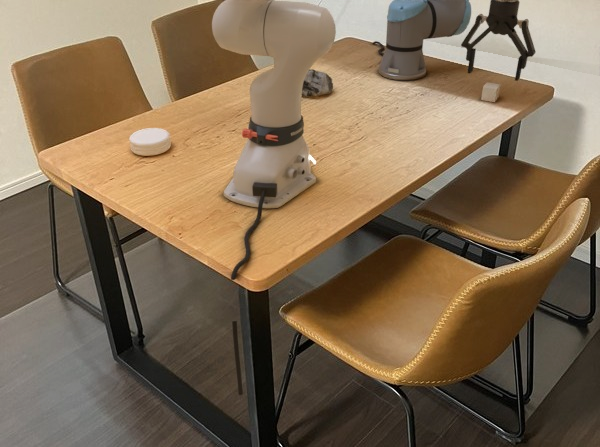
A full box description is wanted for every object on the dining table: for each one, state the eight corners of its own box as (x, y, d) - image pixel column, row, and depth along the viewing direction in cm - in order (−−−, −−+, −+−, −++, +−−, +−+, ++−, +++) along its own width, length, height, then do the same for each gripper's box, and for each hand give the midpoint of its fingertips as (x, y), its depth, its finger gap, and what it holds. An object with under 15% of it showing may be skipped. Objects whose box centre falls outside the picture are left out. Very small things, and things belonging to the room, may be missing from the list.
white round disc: (133, 140, 161) (131, 128, 159) (172, 138, 162) (170, 126, 160) (128, 157, 152) (126, 144, 150) (169, 155, 153) (167, 142, 151)
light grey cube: (485, 95, 185) (487, 82, 183) (498, 97, 183) (500, 84, 181) (480, 100, 182) (482, 86, 180) (494, 102, 180) (496, 89, 178)
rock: (337, 91, 188) (337, 68, 185) (314, 100, 182) (313, 76, 179) (303, 81, 198) (303, 59, 194) (280, 89, 192) (279, 66, 188)
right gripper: (455, -3, 170) (447, 72, 181) (550, 7, 159) (534, 86, 170) (464, -9, 175) (455, 65, 187) (556, 1, 164) (540, 78, 176)
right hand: (493, 75), depth 179 cm, fingers open, 13 cm apart
